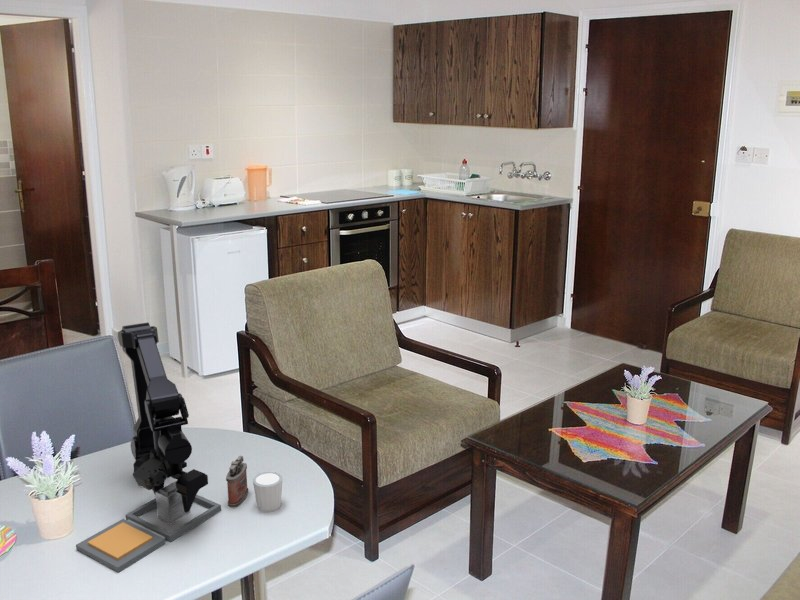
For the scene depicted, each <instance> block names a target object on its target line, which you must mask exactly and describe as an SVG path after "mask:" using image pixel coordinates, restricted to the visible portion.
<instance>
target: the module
mask: <svg viewBox="0 0 800 600" xmlns="http://www.w3.org/2000/svg"><path fill="white" fill-rule="evenodd" d="M176 481H177V480H175V481H172V482H171V483H169V484H167V485H164V488H162V489H160V490H158V491H156V492H155V494H156V496H155V498H156V504H157V506H156V511H157V512H156V515H157V520H159V521H161V522H162V523H163V522H164V523H165V524H168V525H172V524H173V523H175V522H176V521H177V522H178V520H180V519H181V518H183V517H185V516H187V515H188V514H190V513H191V509H190V510H189V511H188V512H187V513H185V512H184V508H183V502H182V496H181V494H179V493H177V492H176V491H177V490H178V489H177V488H176ZM155 494H154V495H155Z"/></svg>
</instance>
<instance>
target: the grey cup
mask: <svg viewBox="0 0 800 600" xmlns="http://www.w3.org/2000/svg"><path fill="white" fill-rule="evenodd" d="M252 484H253V490H254V495H255V503H256V508H257V509H258V511H261V512H267V513H268V512H273V511H276V510H278V509H280V508H281V506H282V491H283V476H282V475H281V474H280V473H278V472H274V471H264V472H261V473H258V474H257V475H255V476H254V477H253V478H252Z"/></svg>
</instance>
